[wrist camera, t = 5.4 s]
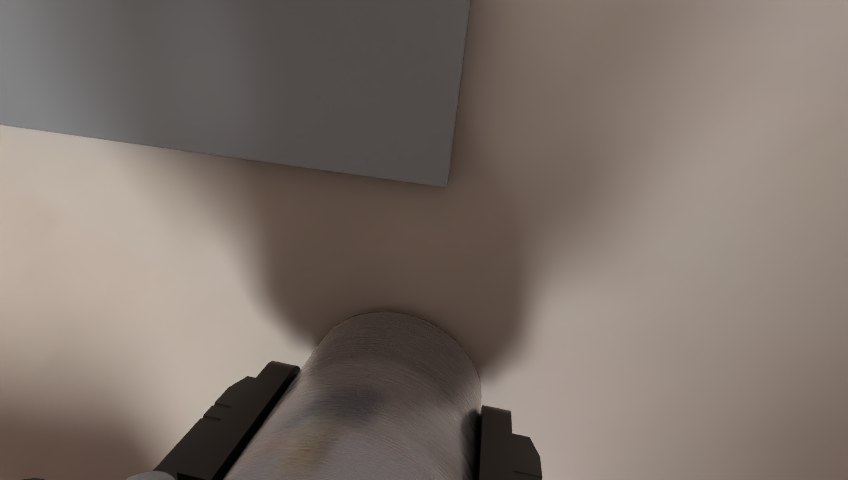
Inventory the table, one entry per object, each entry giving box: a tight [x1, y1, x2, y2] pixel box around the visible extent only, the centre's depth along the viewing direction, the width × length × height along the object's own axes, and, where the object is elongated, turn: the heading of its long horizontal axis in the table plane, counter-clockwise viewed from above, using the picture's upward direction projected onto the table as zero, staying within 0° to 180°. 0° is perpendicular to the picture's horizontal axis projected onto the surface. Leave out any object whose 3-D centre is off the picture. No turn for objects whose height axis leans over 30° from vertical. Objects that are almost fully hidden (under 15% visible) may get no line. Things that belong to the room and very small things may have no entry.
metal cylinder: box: [223, 312, 481, 480], centre depth 9 cm, size 5×5×6 cm
